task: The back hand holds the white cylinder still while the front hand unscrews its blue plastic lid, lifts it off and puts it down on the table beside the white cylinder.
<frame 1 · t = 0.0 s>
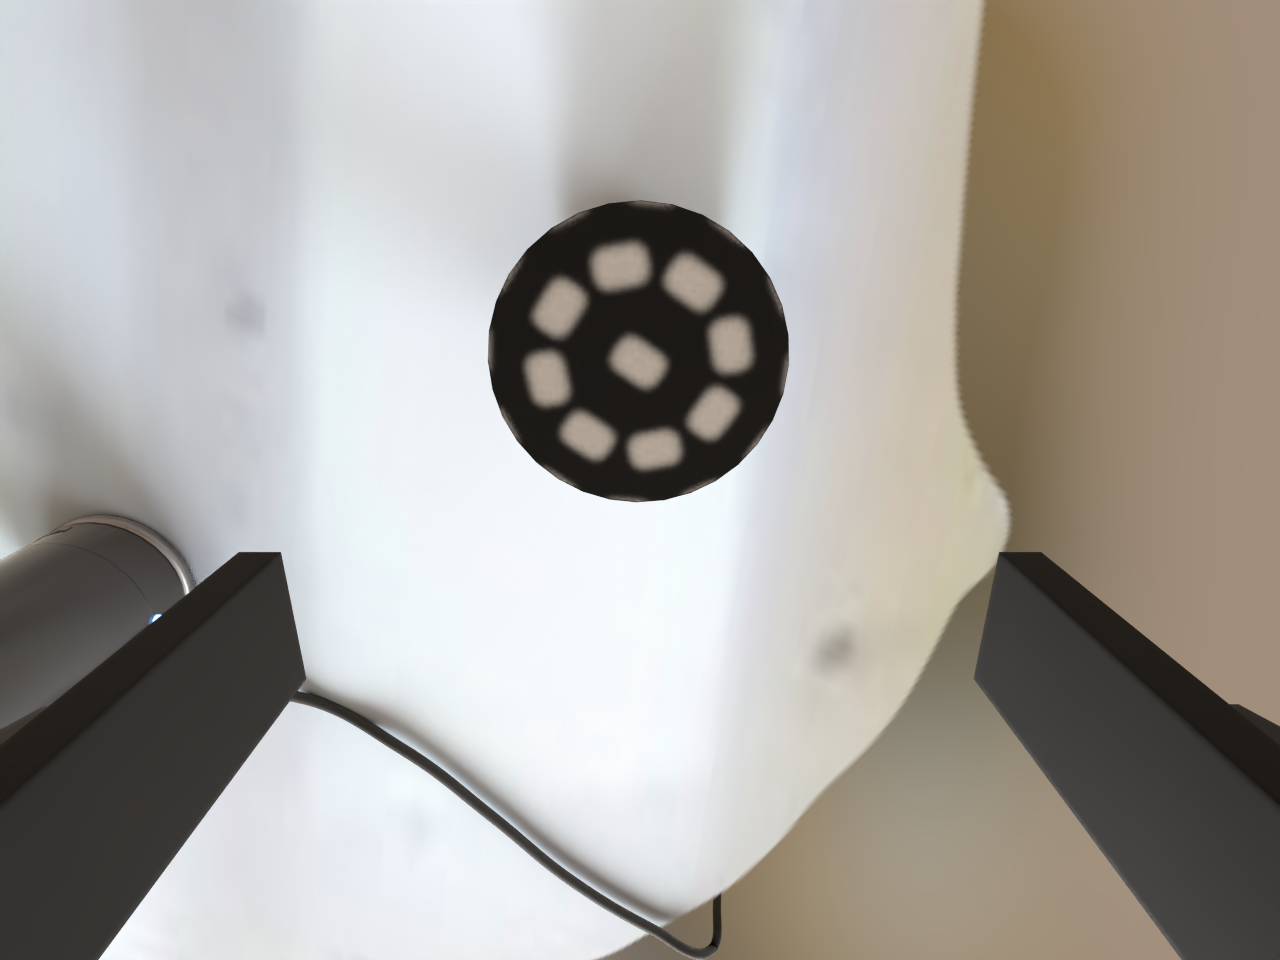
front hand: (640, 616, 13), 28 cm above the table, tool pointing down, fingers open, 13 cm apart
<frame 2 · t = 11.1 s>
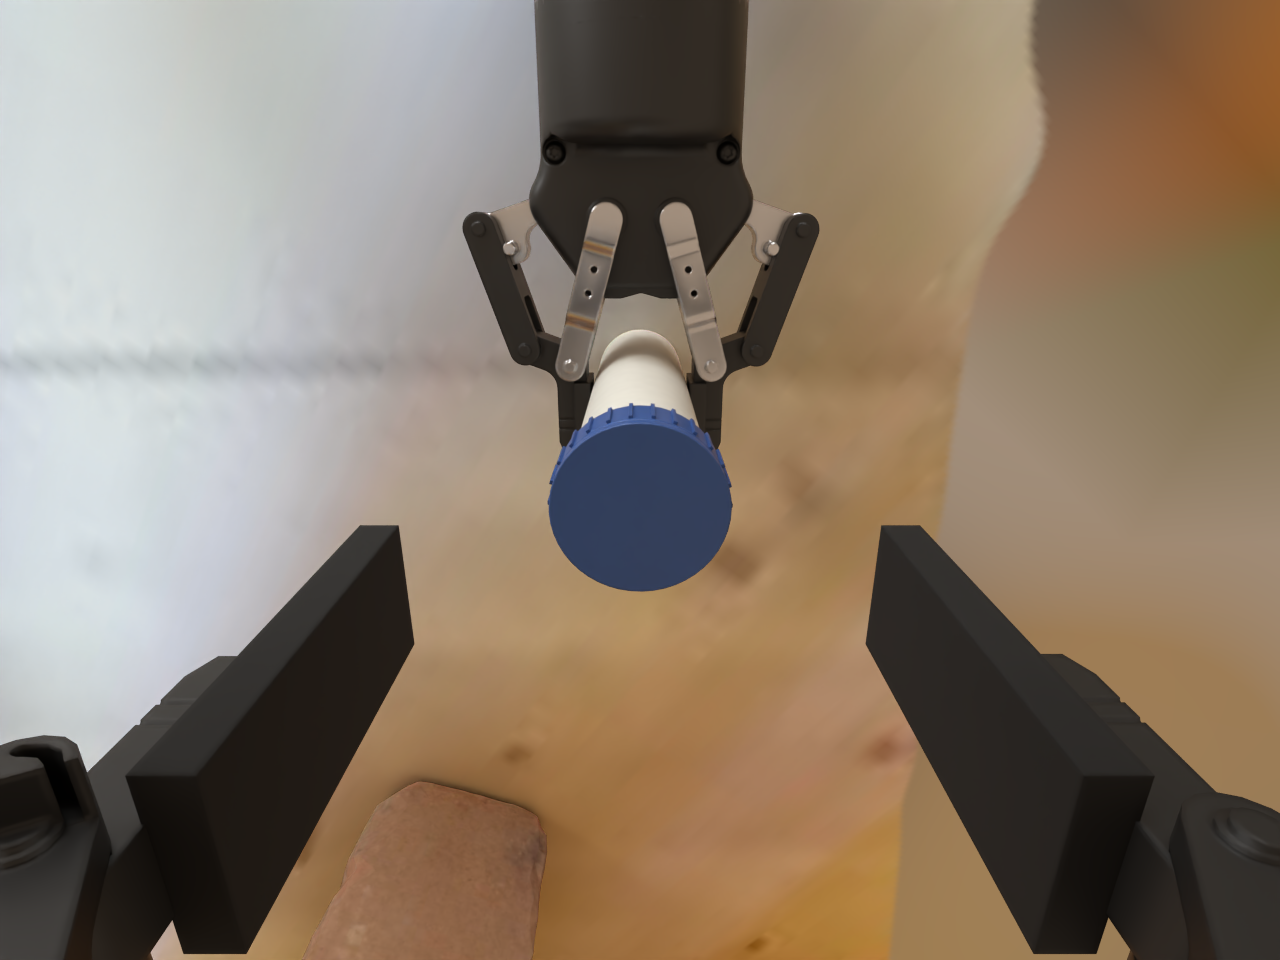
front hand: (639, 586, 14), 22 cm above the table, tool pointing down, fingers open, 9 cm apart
back hand: (640, 459, 30), fingers closed on white cylinder, 4 cm apart
lid: (640, 506, 18), point 18 cm above the table, screwed on, not yet turned
white cylinder: (640, 369, 35), on the table, touching back hand
stone: (433, 890, 47), on the table
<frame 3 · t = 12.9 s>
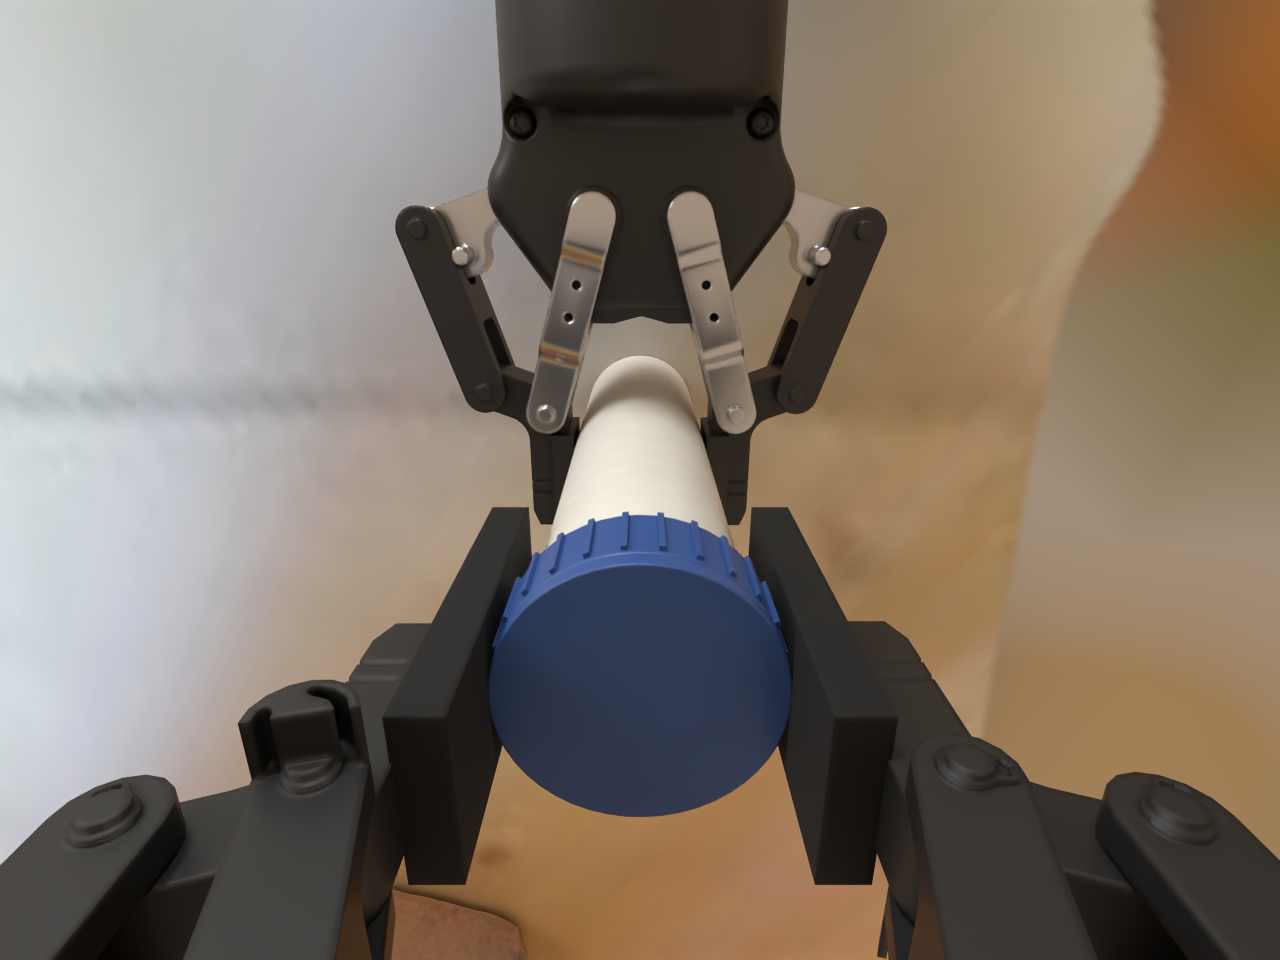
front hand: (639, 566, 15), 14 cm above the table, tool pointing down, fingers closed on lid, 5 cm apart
back hand: (640, 529, 23), fingers closed on white cylinder, 4 cm apart
lid: (640, 686, 11), point 18 cm above the table, screwed on, not yet turned, touching front hand
white cylinder: (640, 405, 28), on the table, touching back hand
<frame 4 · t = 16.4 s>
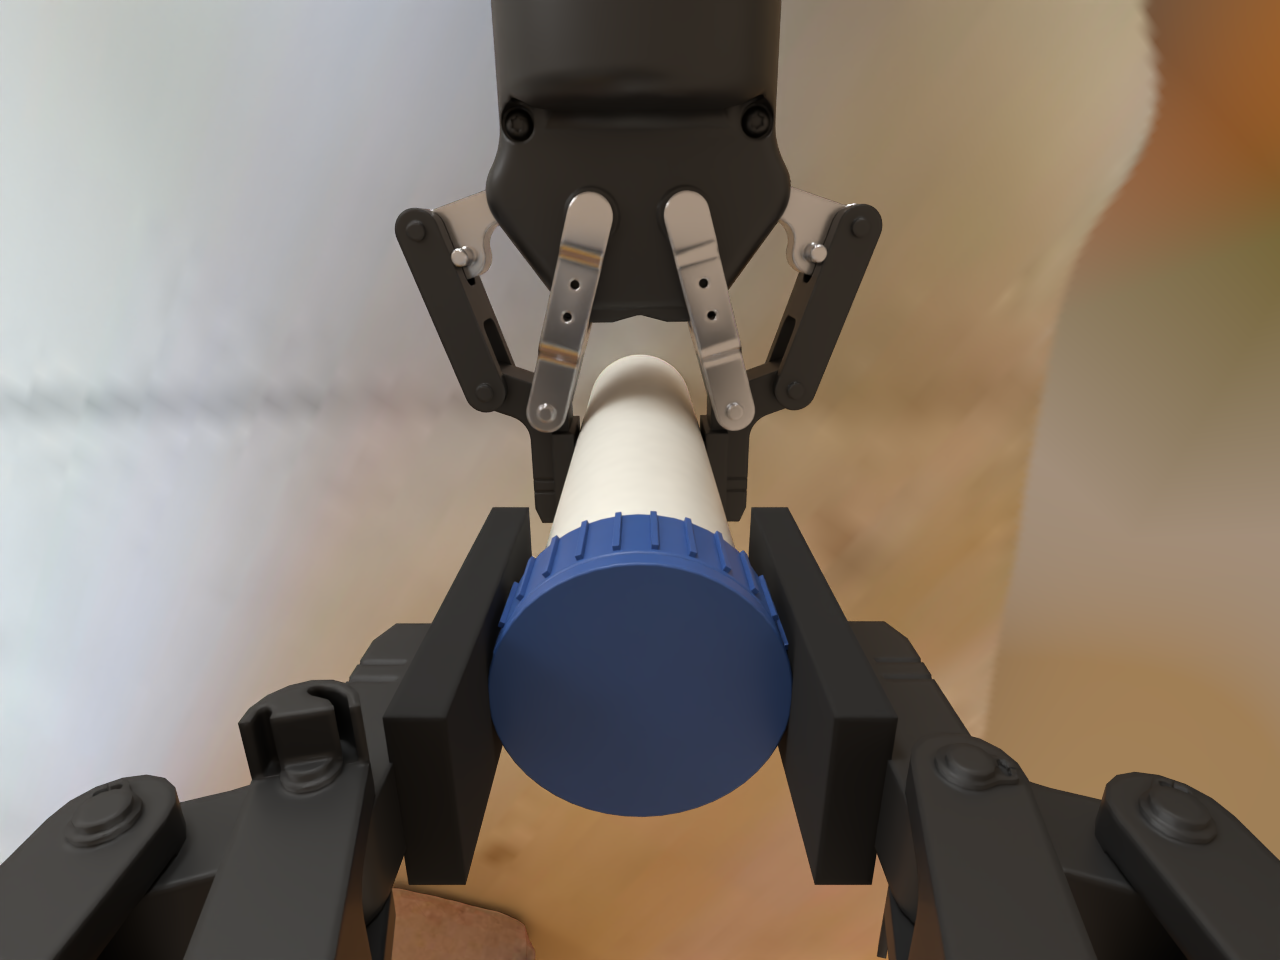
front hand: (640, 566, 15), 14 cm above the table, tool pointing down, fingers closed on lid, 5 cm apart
back hand: (641, 527, 23), fingers closed on white cylinder, 4 cm apart
lid: (640, 686, 11), point 18 cm above the table, turned 127° so far, risen 0.2 cm, still on its thread, touching front hand
white cylinder: (640, 404, 28), on the table, touching back hand
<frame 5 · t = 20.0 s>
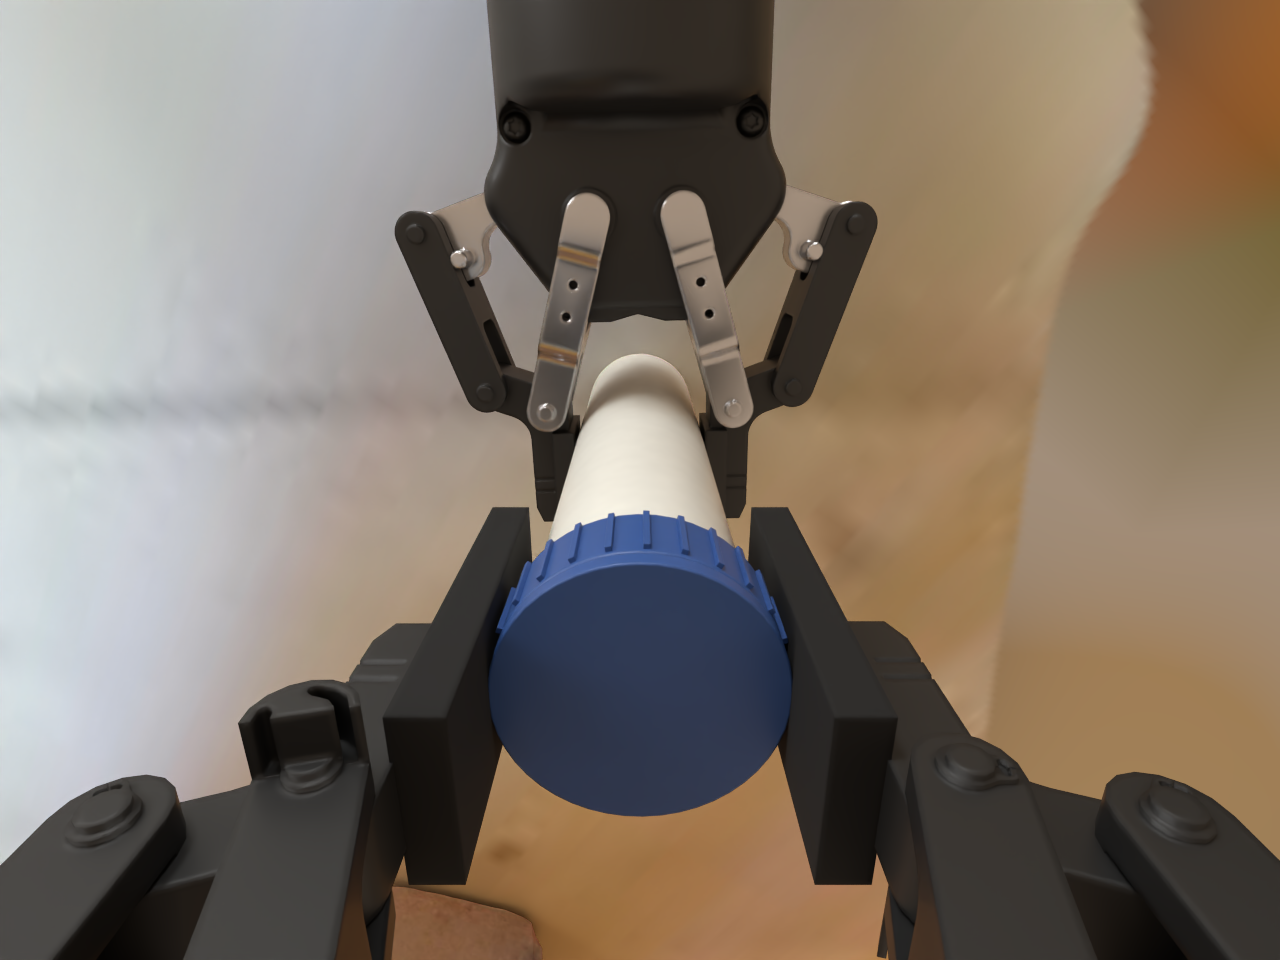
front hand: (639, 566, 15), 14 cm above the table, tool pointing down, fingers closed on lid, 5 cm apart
back hand: (642, 525, 23), fingers closed on white cylinder, 4 cm apart
lid: (640, 685, 11), point 19 cm above the table, turned 254° so far, risen 0.4 cm, still on its thread, touching front hand
white cylinder: (640, 402, 28), on the table, touching back hand
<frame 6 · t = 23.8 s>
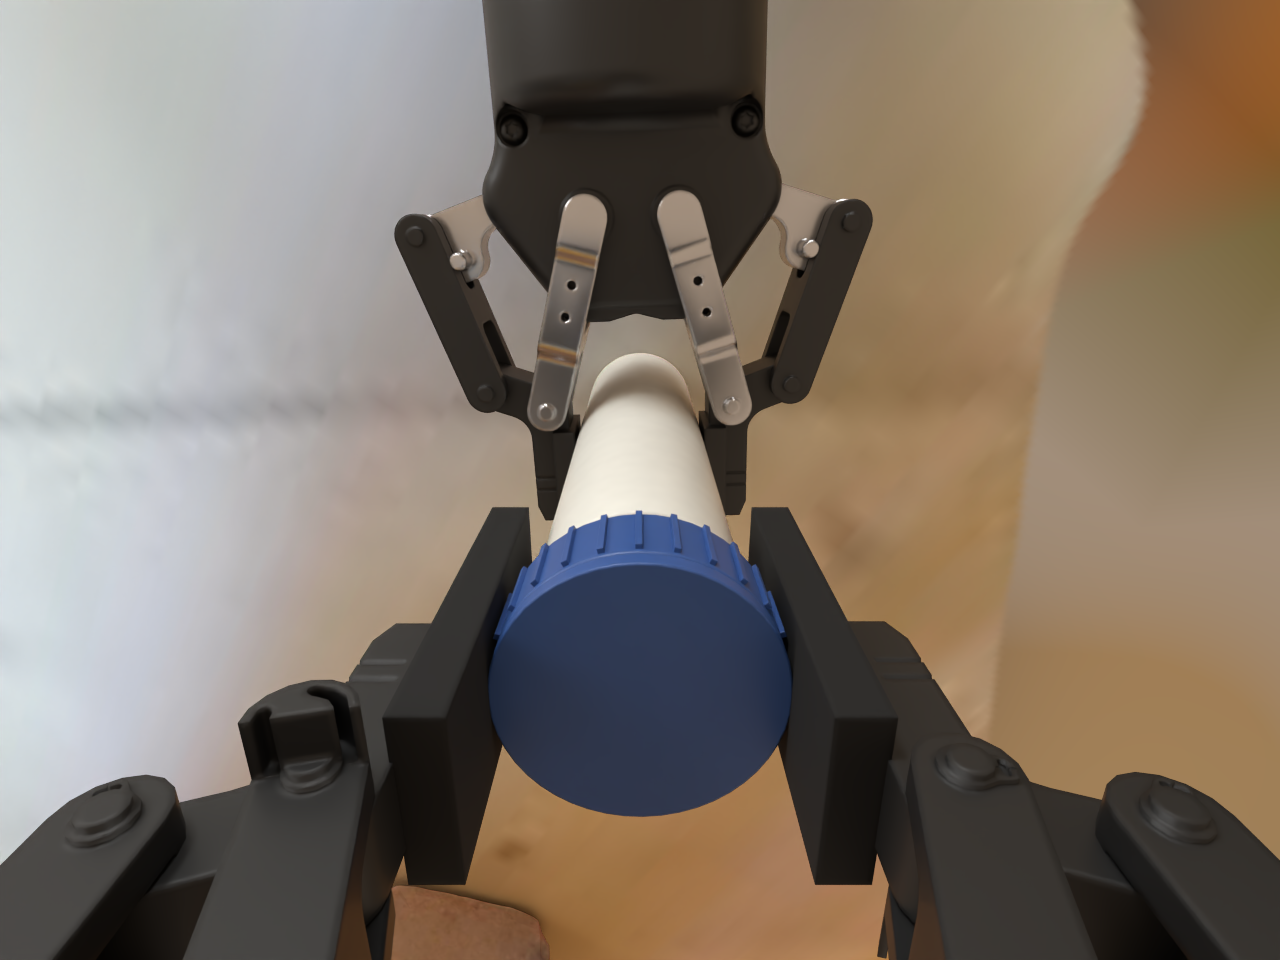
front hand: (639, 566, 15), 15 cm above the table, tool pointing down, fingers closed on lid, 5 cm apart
back hand: (643, 522, 24), fingers closed on white cylinder, 4 cm apart
lid: (640, 686, 11), point 19 cm above the table, turned 380° so far, risen 0.5 cm, still on its thread, touching front hand
white cylinder: (640, 401, 28), on the table, touching back hand
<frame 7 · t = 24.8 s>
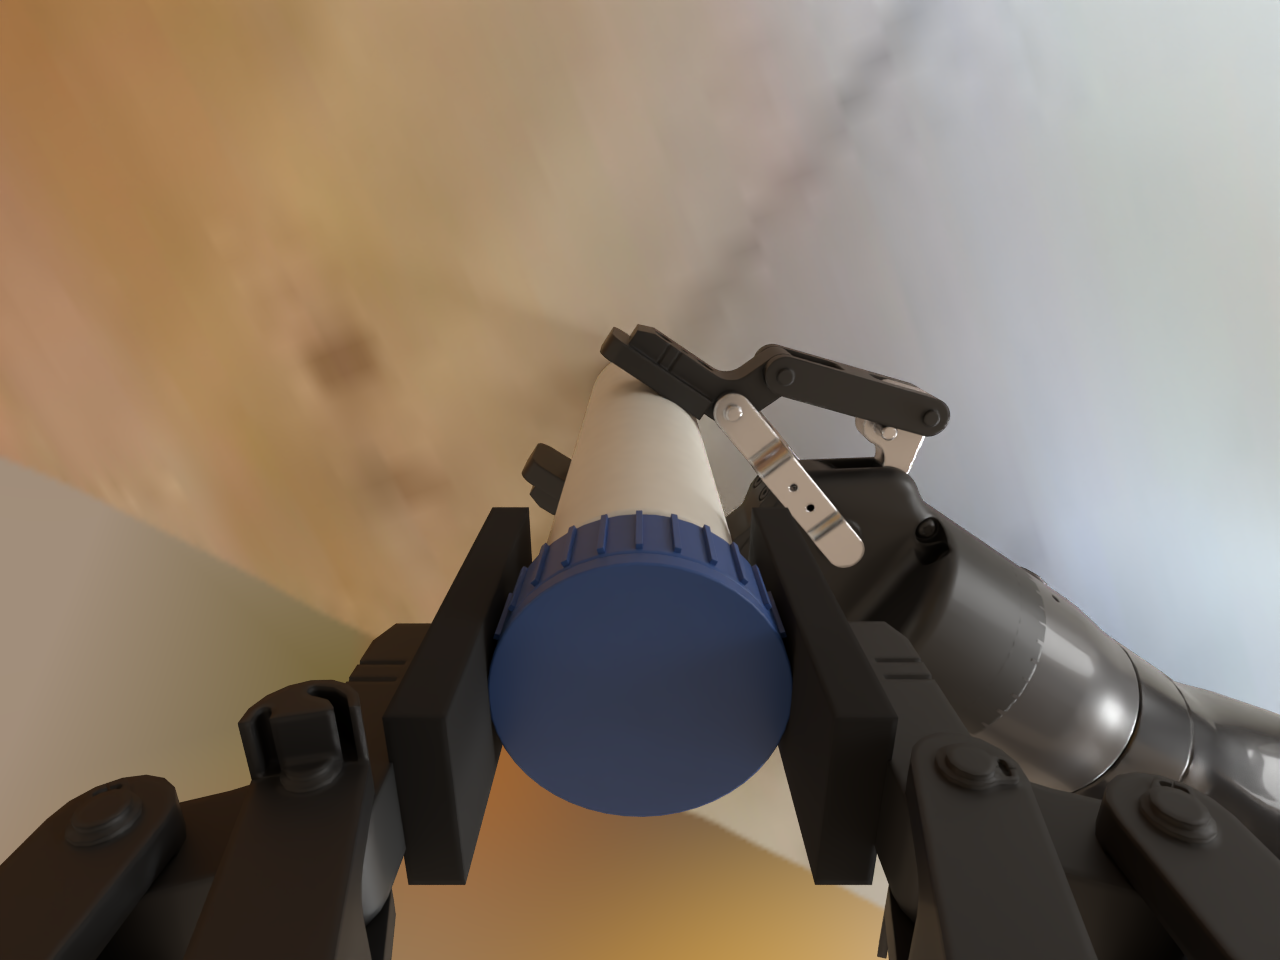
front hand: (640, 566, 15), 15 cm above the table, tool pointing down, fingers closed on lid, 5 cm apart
back hand: (569, 402, 22), fingers closed on white cylinder, 4 cm apart
lid: (640, 686, 11), point 19 cm above the table, off its thread, touching front hand
white cylinder: (640, 402, 29), on the table, touching back hand
when the front hand's fingers open (0 cm above the table, at t = 30.6 s): lid drops 3 cm, point 1 cm above the table.
when the back hand's fingers open (6 cm above the table, at t = 31.7 s): white cylinder stays where it is, on the table.
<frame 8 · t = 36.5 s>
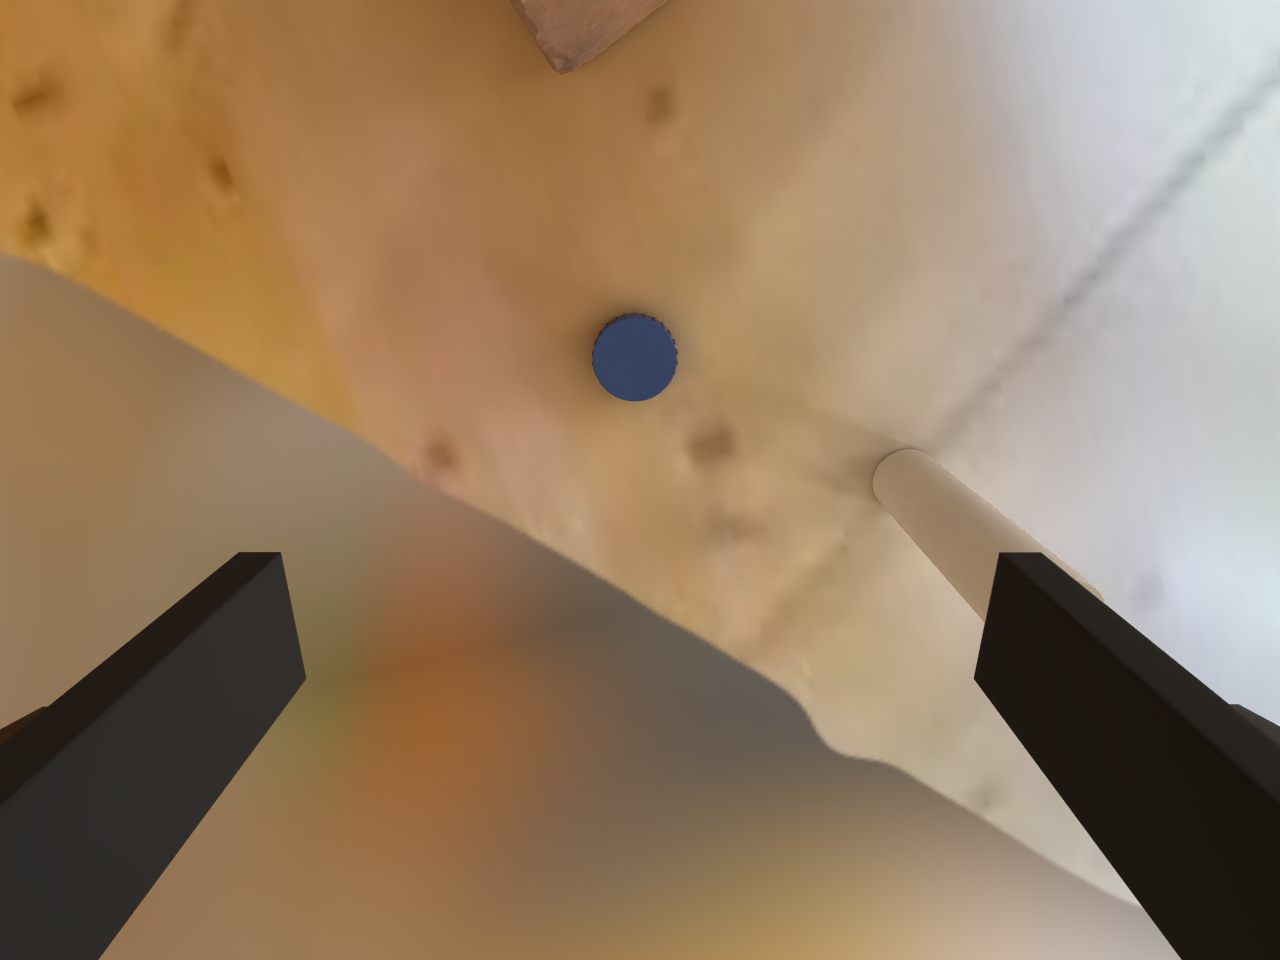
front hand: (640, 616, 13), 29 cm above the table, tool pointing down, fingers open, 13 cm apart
lid: (634, 359, 39), point 1 cm above the table, off its thread
white cylinder: (904, 479, 43), on the table
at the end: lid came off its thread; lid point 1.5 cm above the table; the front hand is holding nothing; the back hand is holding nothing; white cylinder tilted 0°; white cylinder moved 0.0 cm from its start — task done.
